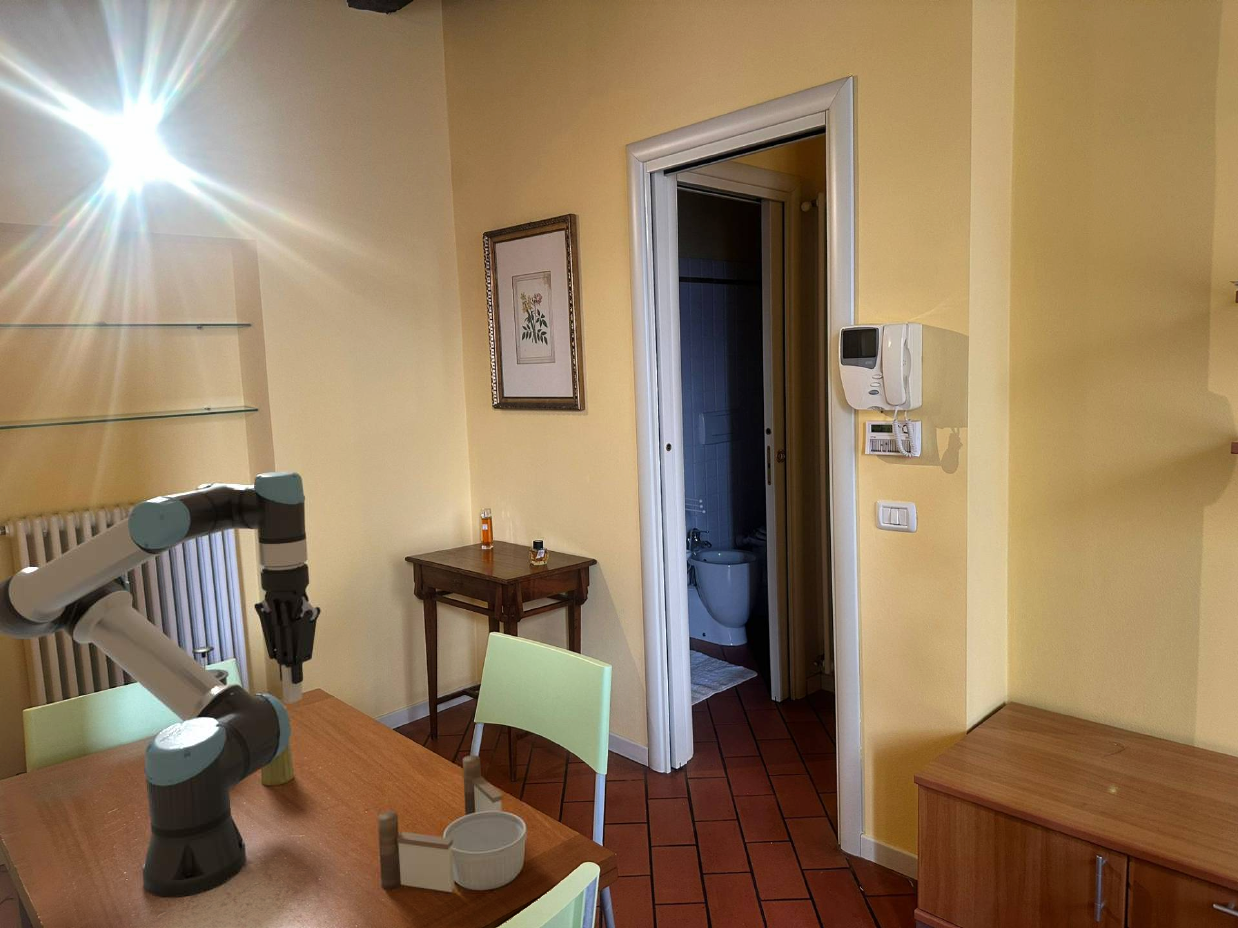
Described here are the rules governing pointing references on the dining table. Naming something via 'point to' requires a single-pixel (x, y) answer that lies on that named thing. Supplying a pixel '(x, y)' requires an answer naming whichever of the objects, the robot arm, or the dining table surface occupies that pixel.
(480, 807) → the right leaf
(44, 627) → the robot arm
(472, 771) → the gate posts
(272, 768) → the vase
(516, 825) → the ramekin
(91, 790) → the dining table surface
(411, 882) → the left leaf
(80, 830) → the dining table surface
